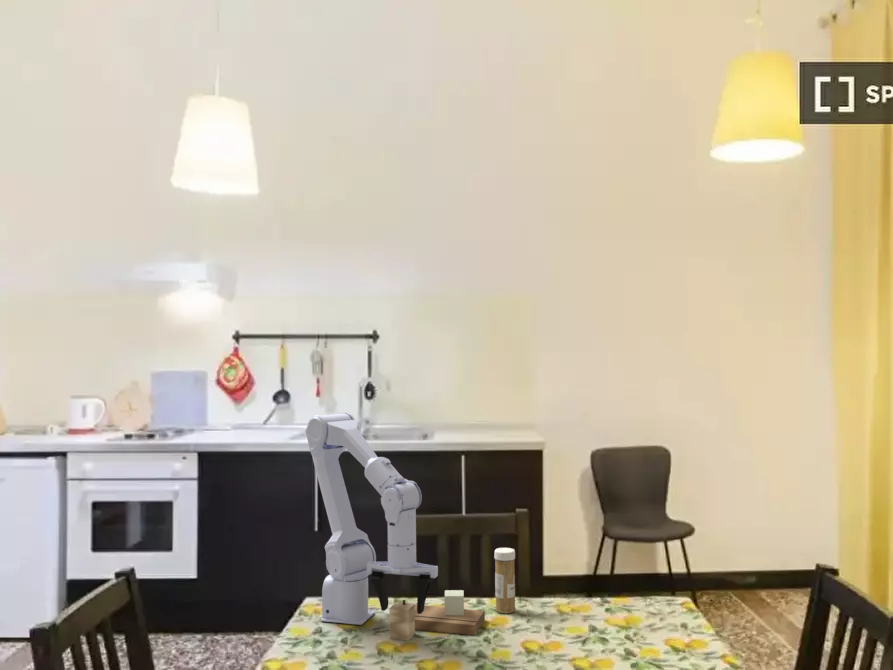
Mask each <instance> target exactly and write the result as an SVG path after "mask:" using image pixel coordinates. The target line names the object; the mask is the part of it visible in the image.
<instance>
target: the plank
mask: <svg viewBox="0 0 893 670" xmlns="http://www.w3.org/2000/svg"><path fill="white" fill-rule="evenodd" d="M485 612H486V611H485V610H481V609H480V610H479V609H467V608H464V615H445V606H436V605H435V606H434V605H424V611H423V612H422V613H421V614H418V613H417V604H415V631H427V632H438V633H447V634H459V635H460V634H461V635H469V636H475V635H476V634H477V633H478V632H479V630H480V628H481V626H482V625H483V623H484V622H485V620H486V619H485V618H486V617H485V616H486V613H485Z"/></svg>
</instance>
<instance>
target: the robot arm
mask: <svg viewBox="0 0 893 670" xmlns="http://www.w3.org/2000/svg"><path fill="white" fill-rule="evenodd" d="M305 436H306V439H307V443H308V446H309V450H310V454H311V456H312V462H313V465H314V470H315V474H316V477H317V481H318V485H319V489H320V492H321V493H320V494H321V495H322V500H323V503H324V507H325V508H324V509H325V510H326V515H327V519H328V522H329V527H330V531H331V534H332V535H331V536H330V538H329V539H328V541H327V542H326V543H325V545H324V549H325V559H326V560H325V565H326V570H327V571H328V573H329V574H328V575H327V576H325V578H324V580H323V584H322V589H321V607H322V608H321V609H322V612H321V618H320V621H321V622H329V623H335V624H336V623H338V624H339V623H340V624H348V625H359V626H362V625H363V624H365V623H366V622H367V621H368V620H369V619H370V618H371V617H372V616H373V615H375V614H376V612H375V610H371V609H369V580H370V583H371V584H372V586H373V588H374V590H375V592H376V594H377V599H378V601H379V605H380V609H381V612H382V611H386V610H387V609H388V608H389V582H390V581H389V580H390V575H399V576H400V575H403V576H415V577H417V576H418V577H417V578H416V579H415V589H416V596H417V597H416V598H417V600H416V602H417V603H416V605H417V613H418V614H421V613H422V612H423V611H424V605H425V603H426V600H427V597H428V593H429V590H430V589H431V588H430V587H431V584H432V583H433V581H434V579H436V578H437V577H438V576H439V574H438V573H439V566H438V565H433V564H426V563H421V562H417V521H416V520H417V511H416V510H417V509H418V508H419V507H420V505H421V504H422V498H423V497H422V496H423V495H422V491H421V488H420V487H419V486H418V484H417V482H415V481H414V480H408V479H407V478H404V477H403V476H402V475H401V474H400V473H399V472H398V470H397V469H396V468H395V467H394V466H393V464H391V463H392V461H390V459H389V458H387V457H385V456H378V455H377V454H376V452H375V451H374V450H373V448H372V446H370V445H369V443H368V442H367V440H366V439H365V438H364V437H365V436H363V435H362V433H361V432H360V426H359V422H358V421H357V420H356V419H355V417H354V415H352V414H351V413H349V412H343V413H335V414H324V415H317V414H316V415H315V414H314V415H313V416H311V418H310V419H309V420H308V423H307V426H306V428H305ZM345 450H347V451H348V452H349V453H350V454H351V455H352V456H353V457H354V459H356V460H357V461H358V463H360V465H361V466H362V467H363V468H364V477H365V478H366V479H367V480H368V482H369V483H370V484H371V486H373V488H374V489H375V490H376V491H377V492H378V494H379V495H380V496H381V497H380V504H381V507H382V509H383V511H384V517H385V521H386V522H387V561H384V560H383V561H382V560H381V561H377V554H376V551H375V548H374V546H373V545H372V543H371V541H370V539H369V535H368V534H367V533H366V532H364V531H362V530H361V529H359V528H358V527H357V524H356V520H355V516H354V513H353V510H352V506H351V502H350V499H349V494H348V492H347V491H348V490H347V487H346V484H345V479H344V476H343V472H342V468H341V465H340V461H339V457H340V456H341V454H342V453H343V452H344V451H345ZM369 575H371V576H370V578H369ZM425 606H426V605H425Z"/></svg>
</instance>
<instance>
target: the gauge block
mask: <svg viewBox="0 0 893 670" xmlns="http://www.w3.org/2000/svg"><path fill="white" fill-rule="evenodd" d="M415 605H416V603H409V602H406V599H403V600H402V602H397V601H395V602H394V603H393V604H392V606H390V607H388V608H389V639H391V640H401V641H409V640H410V639H412V637H413V636H414V635H415V634H416V629H415Z"/></svg>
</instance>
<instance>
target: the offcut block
mask: <svg viewBox="0 0 893 670" xmlns="http://www.w3.org/2000/svg"><path fill="white" fill-rule="evenodd" d="M464 591H465V590H464V589H463V590H462V589H459V590H458V589H454V590H453V589H451V590H448V589H446V590H444V607H445V615H464V609H465V608H464V607H465V606H464V605H465V603H464V602H465V596H464Z"/></svg>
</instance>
